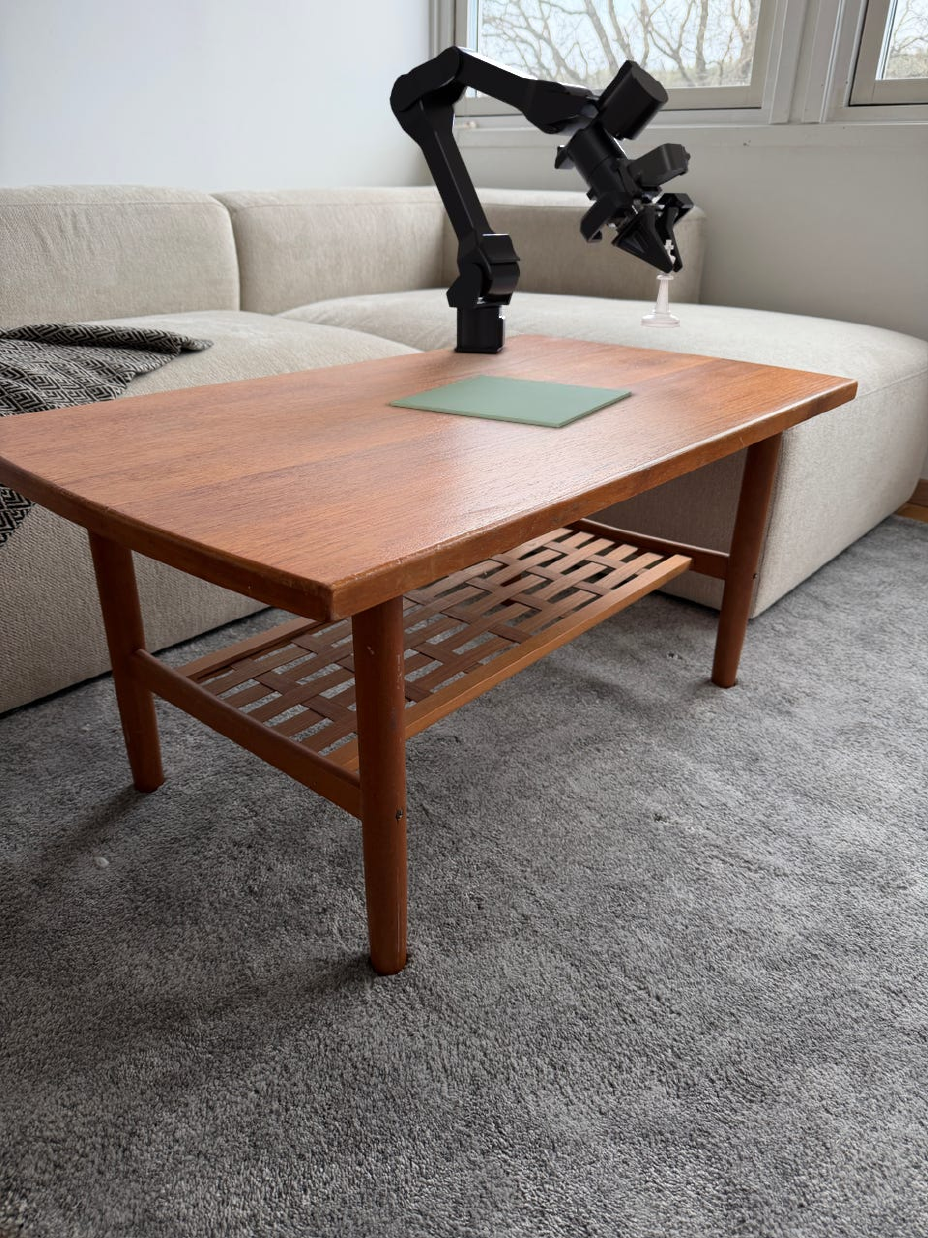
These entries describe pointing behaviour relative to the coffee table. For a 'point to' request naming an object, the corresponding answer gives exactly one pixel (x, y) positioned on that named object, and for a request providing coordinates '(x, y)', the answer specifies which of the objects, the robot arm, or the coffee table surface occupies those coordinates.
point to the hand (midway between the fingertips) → (675, 270)
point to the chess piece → (662, 301)
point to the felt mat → (514, 400)
